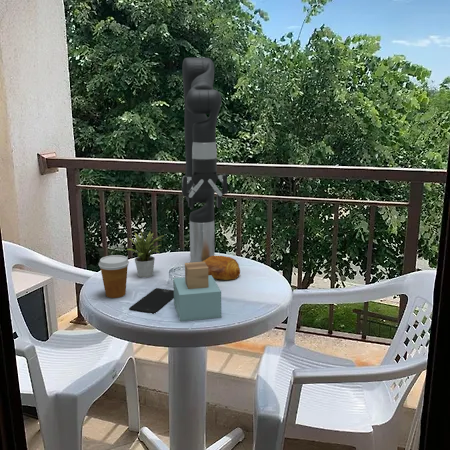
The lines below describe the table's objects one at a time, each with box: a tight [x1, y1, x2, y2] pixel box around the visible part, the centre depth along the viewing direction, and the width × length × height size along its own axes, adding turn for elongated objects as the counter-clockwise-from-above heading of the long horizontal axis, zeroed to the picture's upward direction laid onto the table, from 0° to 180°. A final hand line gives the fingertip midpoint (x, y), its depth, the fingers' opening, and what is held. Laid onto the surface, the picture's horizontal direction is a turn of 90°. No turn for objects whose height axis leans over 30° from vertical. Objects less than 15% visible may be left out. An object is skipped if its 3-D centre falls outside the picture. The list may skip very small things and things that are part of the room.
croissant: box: [203, 255, 241, 281], centre depth 182 cm, size 14×16×8 cm
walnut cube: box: [184, 262, 209, 289], centre depth 150 cm, size 6×6×6 cm
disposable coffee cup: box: [98, 254, 130, 299], centre depth 163 cm, size 10×10×12 cm
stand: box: [172, 275, 222, 322], centre depth 152 cm, size 14×12×8 cm
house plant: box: [126, 231, 165, 279], centre depth 179 cm, size 14×14×16 cm
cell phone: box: [128, 287, 174, 315], centre depth 159 cm, size 9×18×1 cm, turn 160°
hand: (205, 208), depth 160 cm, fingers open, 8 cm apart
